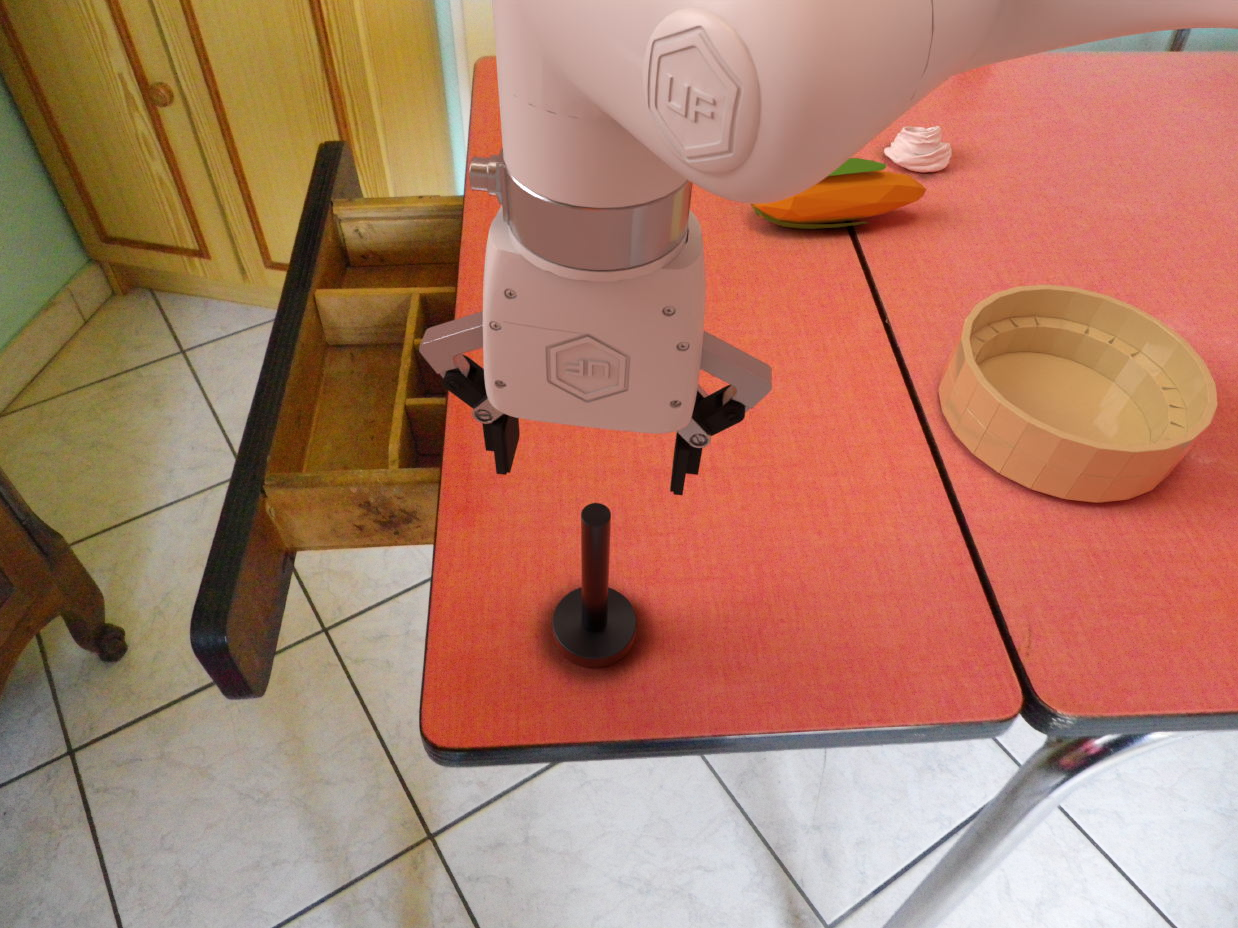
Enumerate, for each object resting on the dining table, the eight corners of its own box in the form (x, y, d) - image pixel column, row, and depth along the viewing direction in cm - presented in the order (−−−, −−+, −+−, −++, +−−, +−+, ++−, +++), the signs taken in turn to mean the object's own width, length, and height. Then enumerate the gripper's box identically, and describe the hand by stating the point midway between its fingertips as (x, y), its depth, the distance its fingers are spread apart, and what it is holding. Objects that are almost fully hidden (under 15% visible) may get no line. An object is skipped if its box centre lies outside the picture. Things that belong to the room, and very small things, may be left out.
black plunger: (652, 623, 62) (665, 507, 51) (602, 684, 59) (605, 573, 48) (587, 581, 64) (587, 460, 54) (535, 637, 61) (525, 521, 50)
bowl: (1196, 404, 79) (1240, 347, 73) (1136, 547, 68) (1183, 493, 63) (985, 314, 86) (1011, 257, 81) (900, 431, 75) (924, 373, 70)
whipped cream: (889, 181, 104) (898, 147, 100) (873, 148, 107) (881, 113, 103) (953, 175, 104) (965, 140, 100) (935, 142, 108) (946, 107, 104)
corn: (748, 143, 92) (924, 135, 94) (737, 202, 98) (903, 194, 100) (763, 185, 87) (948, 176, 89) (751, 244, 94) (924, 234, 96)
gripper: (363, 229, 33) (424, 500, 46) (814, 275, 32) (745, 537, 45) (415, 130, 37) (457, 401, 51) (808, 168, 37) (747, 433, 50)
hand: (592, 465), depth 48 cm, fingers open, 9 cm apart
